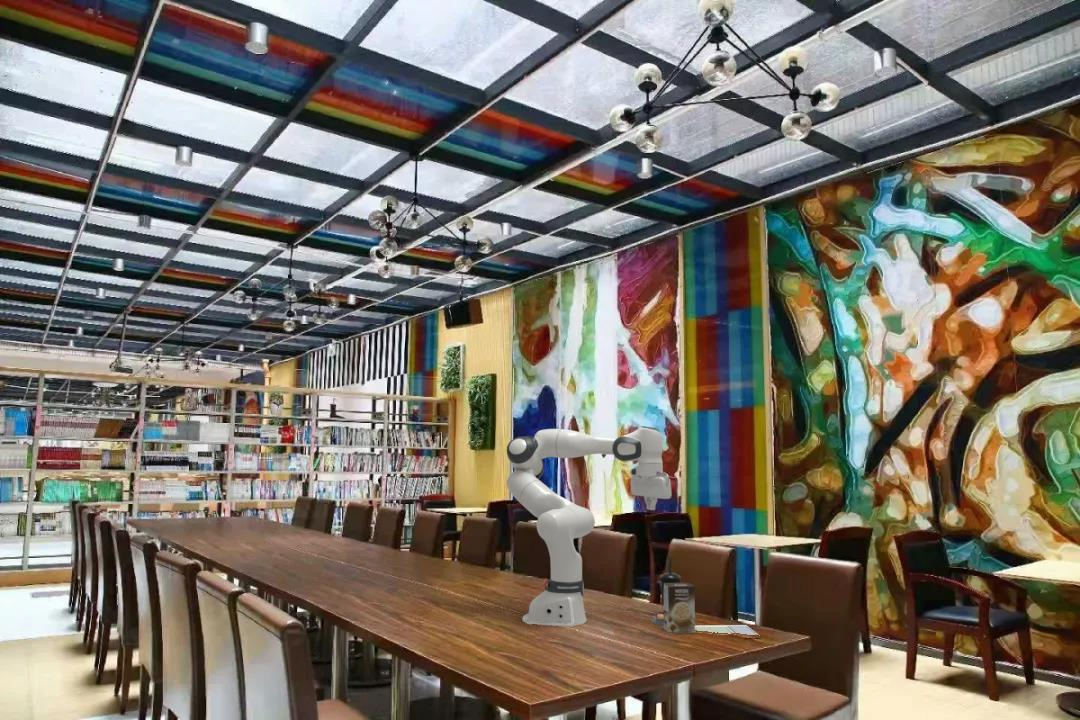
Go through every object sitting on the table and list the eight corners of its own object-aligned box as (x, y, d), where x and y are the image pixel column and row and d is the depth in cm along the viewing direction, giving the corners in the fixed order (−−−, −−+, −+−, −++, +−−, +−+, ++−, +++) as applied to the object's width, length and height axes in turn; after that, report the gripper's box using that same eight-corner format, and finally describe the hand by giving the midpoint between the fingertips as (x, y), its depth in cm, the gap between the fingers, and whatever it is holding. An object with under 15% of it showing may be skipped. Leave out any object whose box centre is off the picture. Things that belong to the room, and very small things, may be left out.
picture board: (700, 639, 238) (700, 637, 238) (688, 627, 253) (688, 625, 253) (761, 638, 239) (761, 636, 239) (746, 626, 254) (746, 624, 254)
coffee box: (668, 636, 241) (668, 586, 243) (663, 631, 248) (662, 582, 249) (695, 635, 242) (694, 585, 244) (689, 630, 249) (688, 582, 250)
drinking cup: (683, 612, 274) (682, 557, 276) (678, 617, 267) (677, 560, 269) (663, 610, 277) (662, 556, 279) (658, 614, 270) (657, 559, 272)
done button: (658, 623, 253) (658, 616, 254) (656, 621, 256) (656, 614, 257) (666, 623, 254) (666, 616, 254) (665, 621, 257) (664, 613, 257)
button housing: (654, 627, 252) (654, 619, 252) (651, 623, 258) (651, 615, 258) (672, 627, 252) (672, 619, 252) (668, 623, 258) (668, 615, 258)
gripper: (675, 472, 259) (676, 512, 258) (641, 469, 277) (641, 506, 276) (661, 472, 256) (661, 512, 255) (627, 470, 274) (627, 507, 273)
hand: (651, 509), depth 266 cm, fingers closed
